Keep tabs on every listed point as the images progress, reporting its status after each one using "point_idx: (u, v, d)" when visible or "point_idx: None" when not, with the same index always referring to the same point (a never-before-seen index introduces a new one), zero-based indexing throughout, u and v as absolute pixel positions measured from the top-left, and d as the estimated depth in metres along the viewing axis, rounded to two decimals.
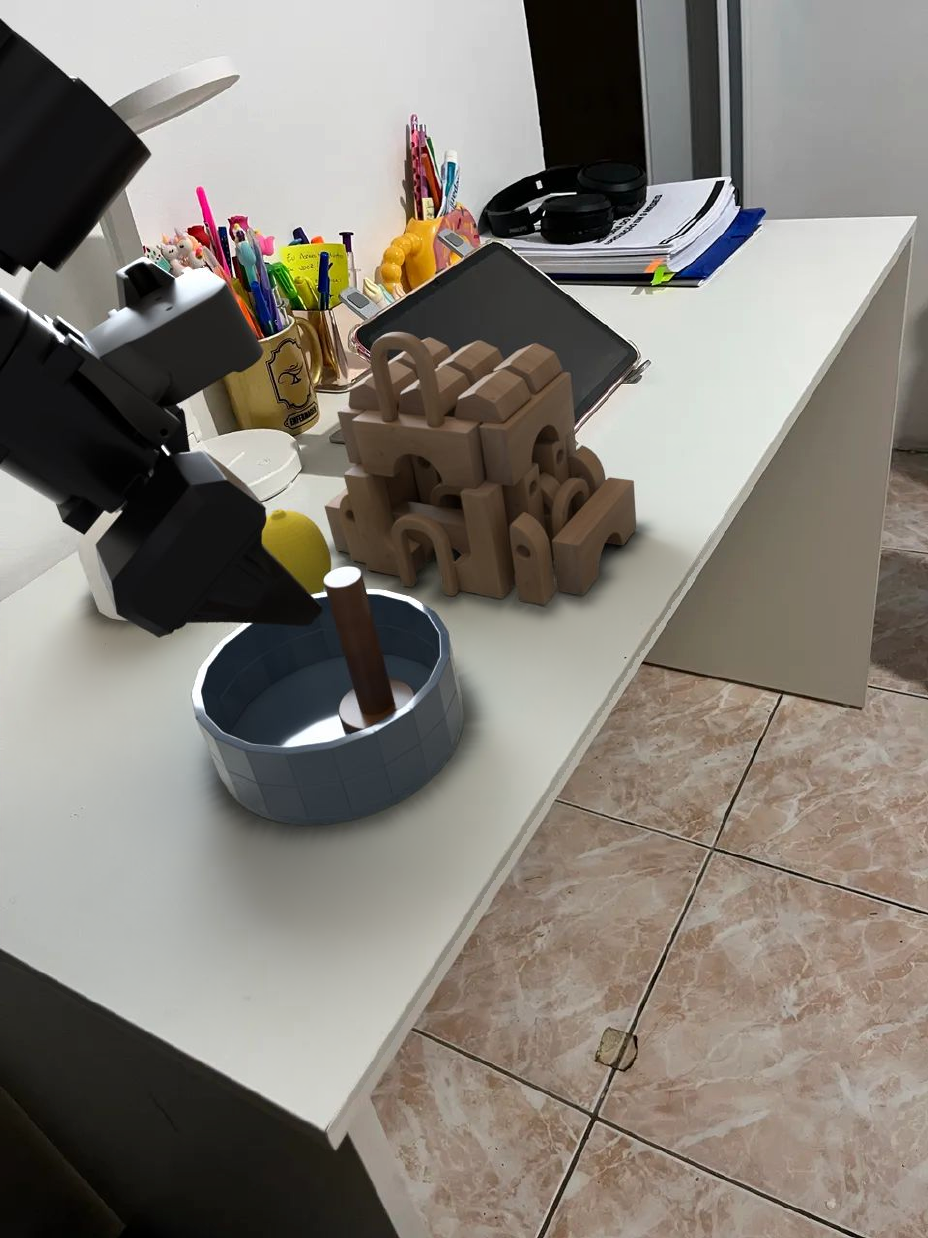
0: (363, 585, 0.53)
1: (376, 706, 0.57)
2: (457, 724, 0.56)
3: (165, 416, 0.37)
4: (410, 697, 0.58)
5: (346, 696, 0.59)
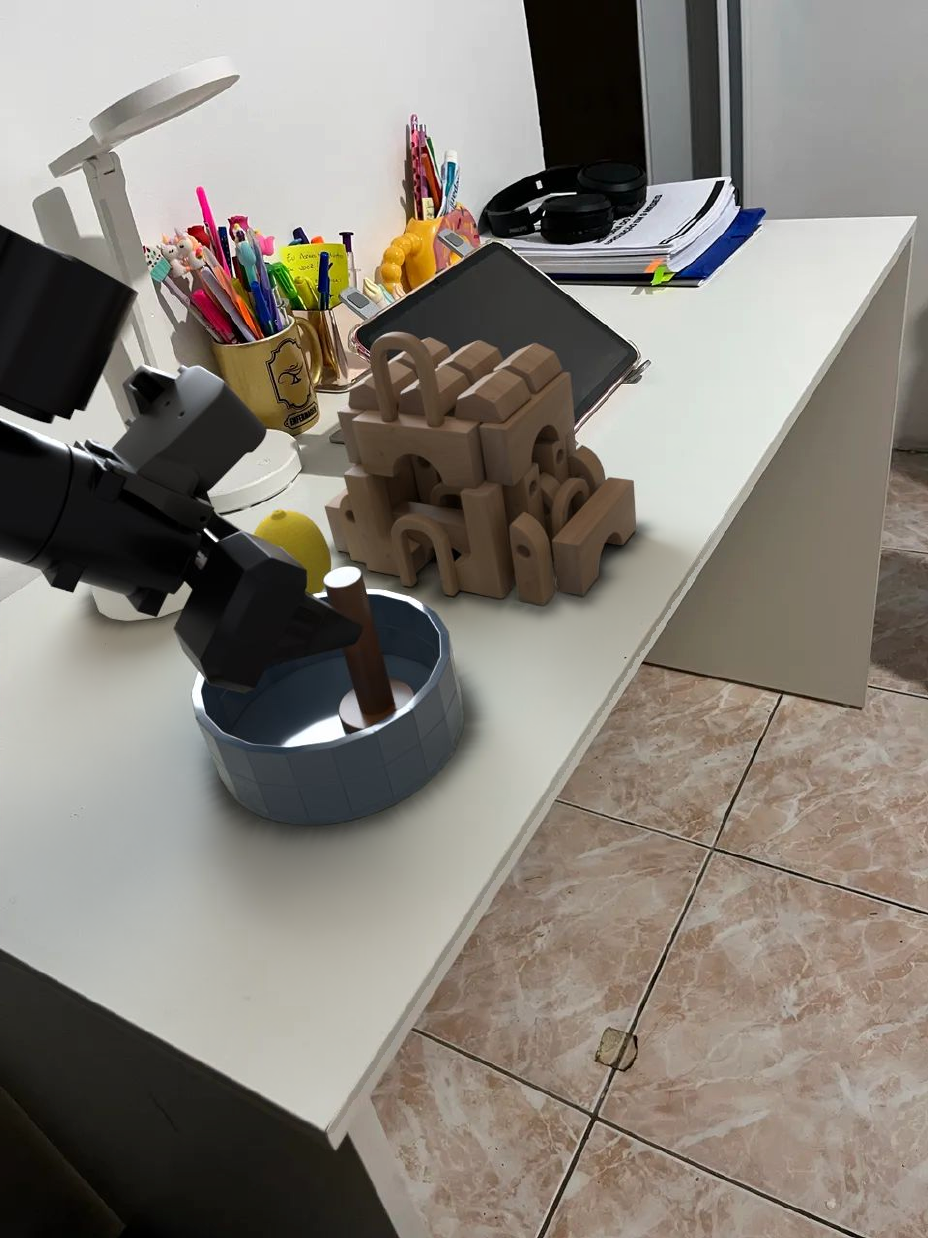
0: (363, 585, 0.53)
1: (376, 706, 0.57)
2: (457, 724, 0.56)
3: (201, 506, 0.43)
4: (410, 697, 0.58)
5: (346, 696, 0.59)
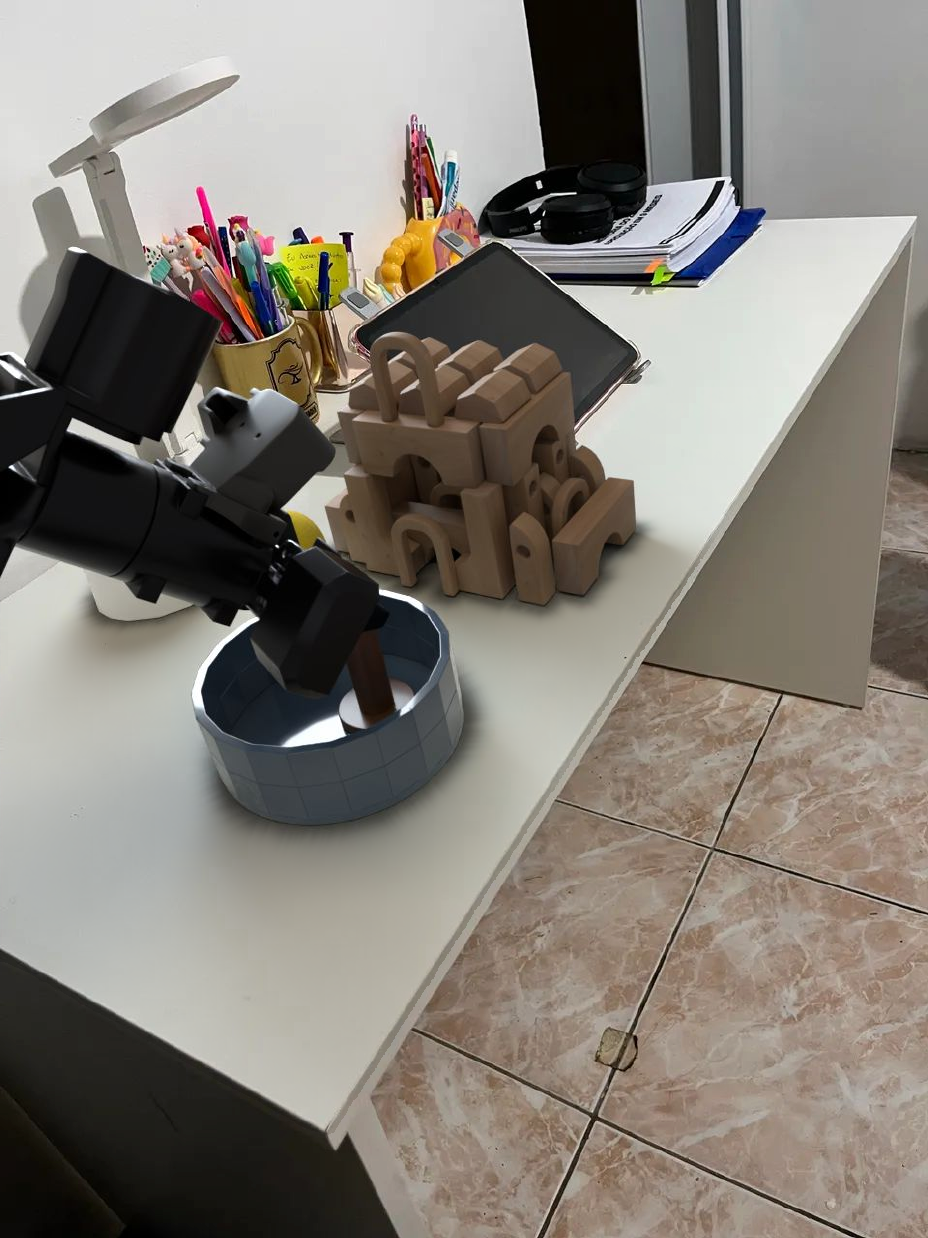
0: None
1: (376, 706, 0.57)
2: (457, 724, 0.56)
3: (275, 522, 0.46)
4: (410, 697, 0.58)
5: (346, 696, 0.59)
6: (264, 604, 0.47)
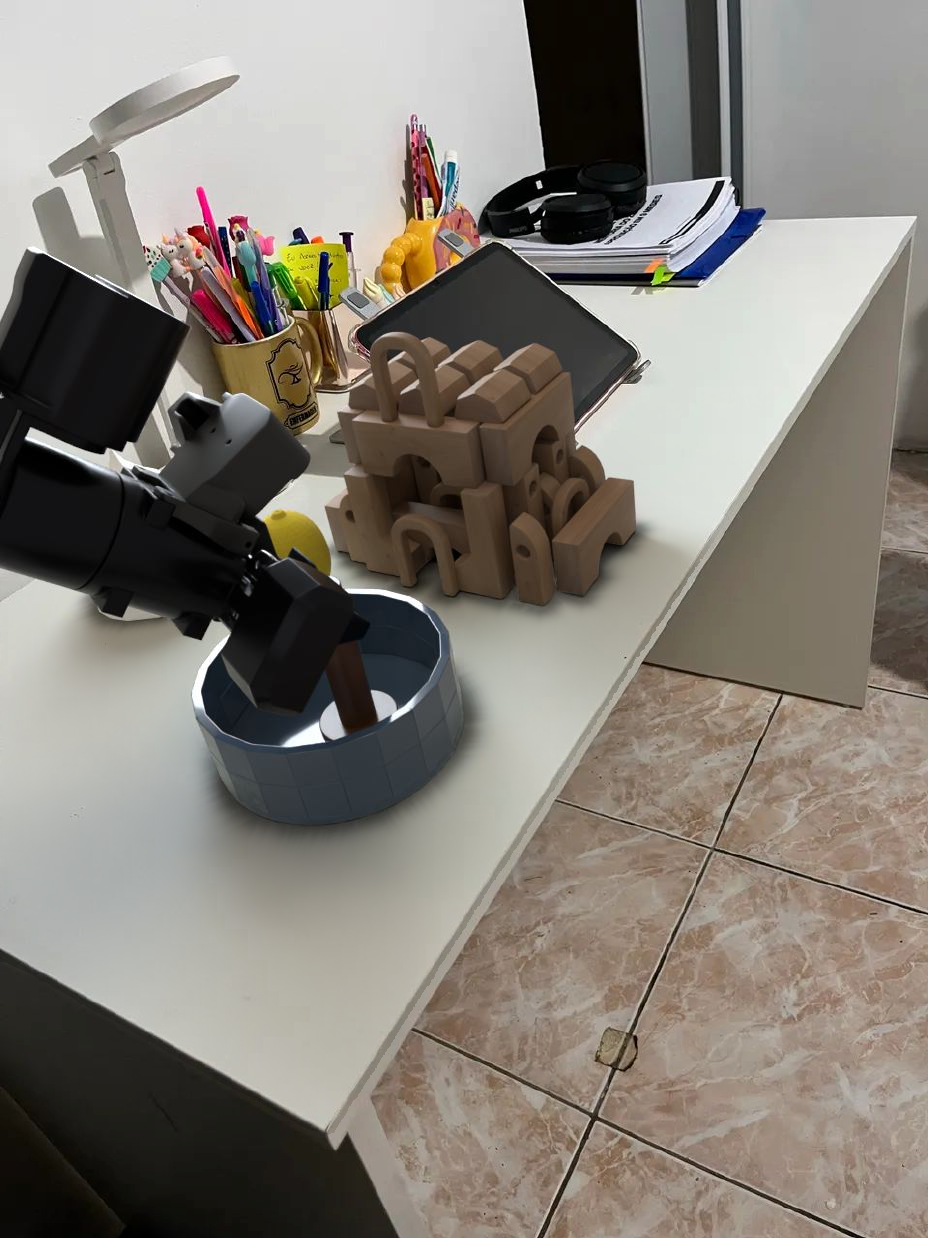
0: None
1: (358, 719, 0.55)
2: (457, 724, 0.56)
3: (247, 532, 0.44)
4: (393, 709, 0.56)
5: (327, 708, 0.58)
6: (237, 617, 0.45)
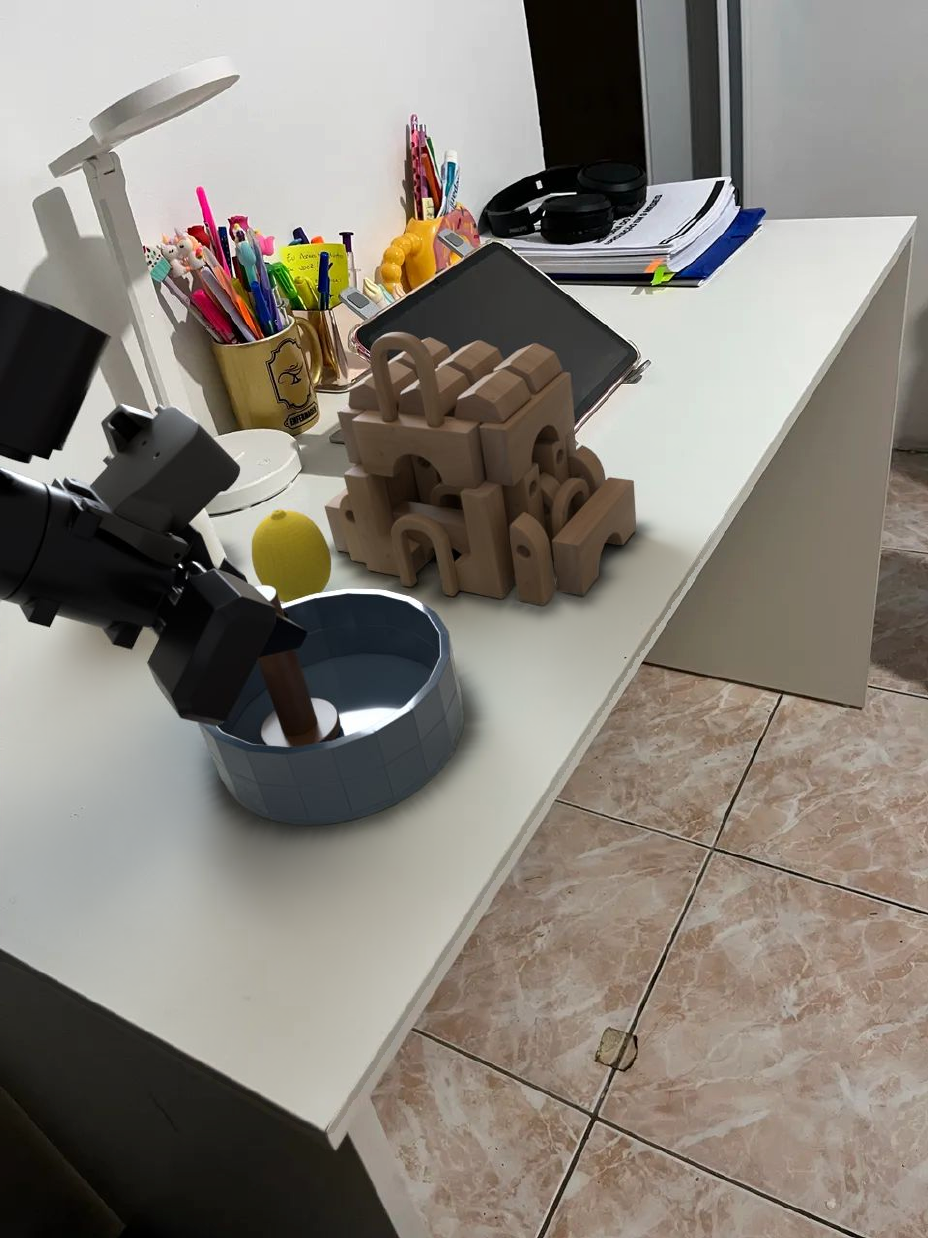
0: (278, 605, 0.52)
1: (297, 727, 0.56)
2: (457, 724, 0.56)
3: (175, 543, 0.45)
4: (333, 717, 0.57)
5: (269, 716, 0.58)
6: None
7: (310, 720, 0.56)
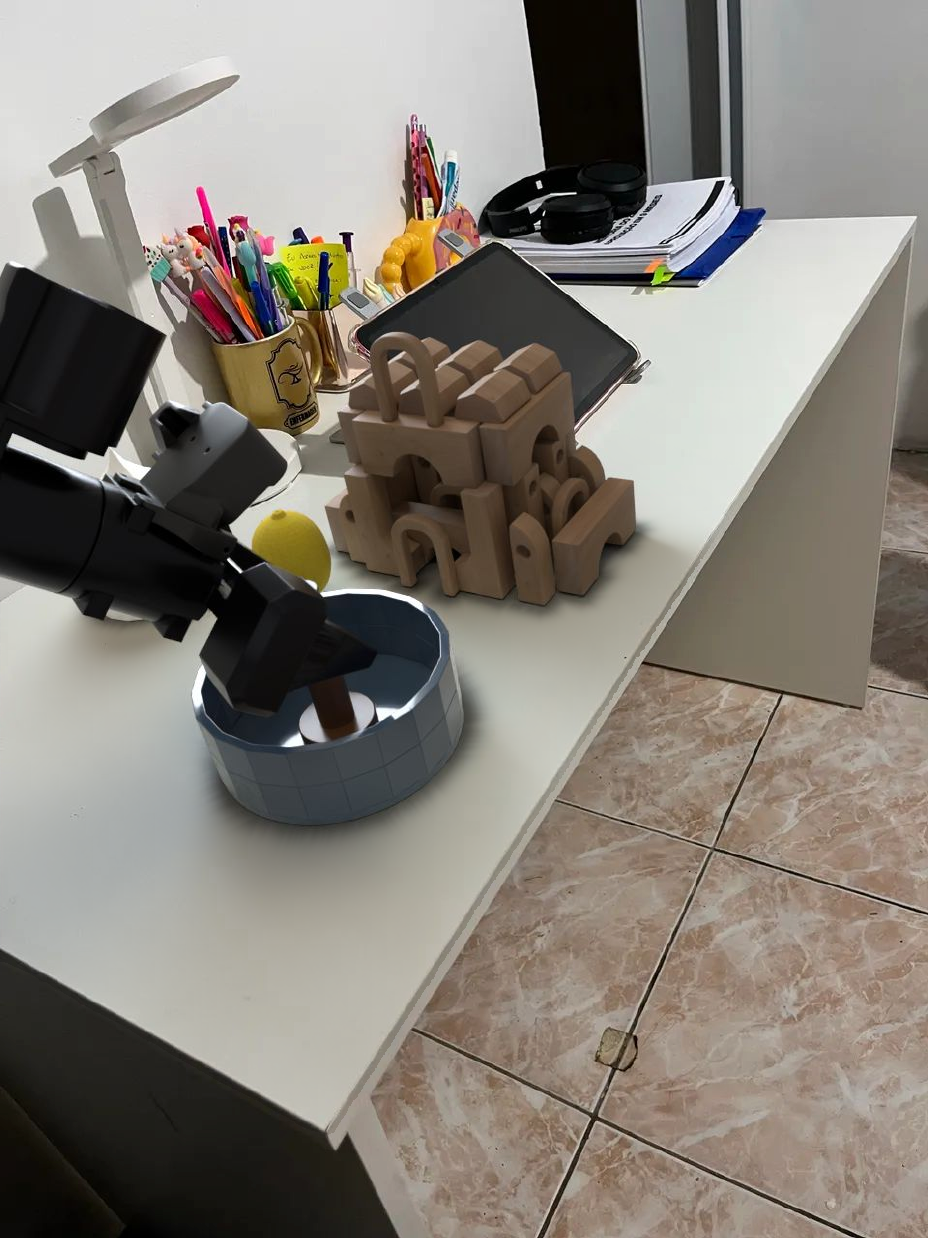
0: None
1: (336, 720, 0.57)
2: (457, 724, 0.56)
3: (225, 537, 0.45)
4: (371, 711, 0.58)
5: (307, 709, 0.59)
6: None
7: (348, 713, 0.57)
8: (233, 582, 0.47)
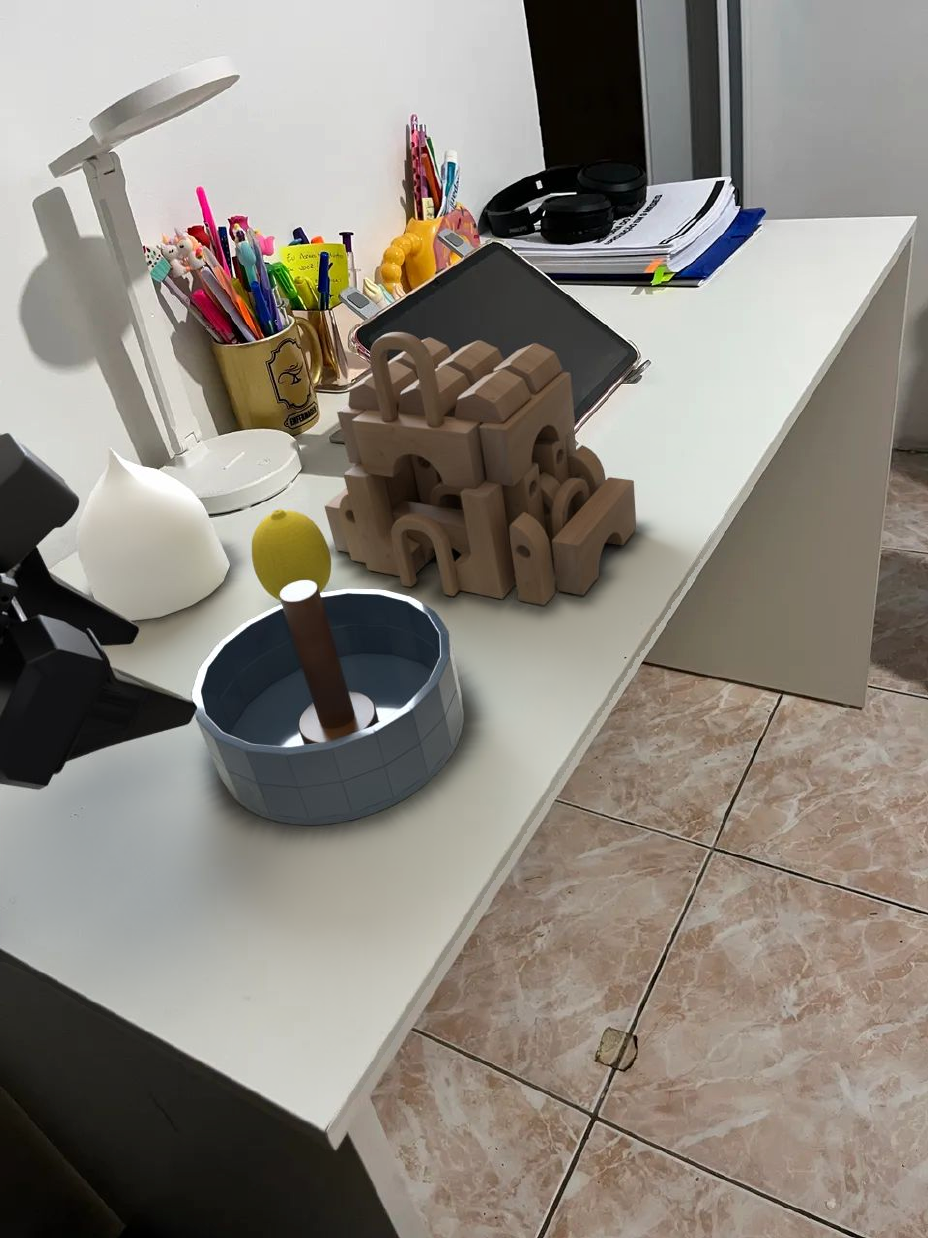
0: (319, 599, 0.53)
1: (336, 720, 0.57)
2: (457, 724, 0.56)
3: (1, 585, 0.41)
4: (371, 711, 0.58)
5: (307, 709, 0.59)
6: None
7: (348, 713, 0.57)
8: None
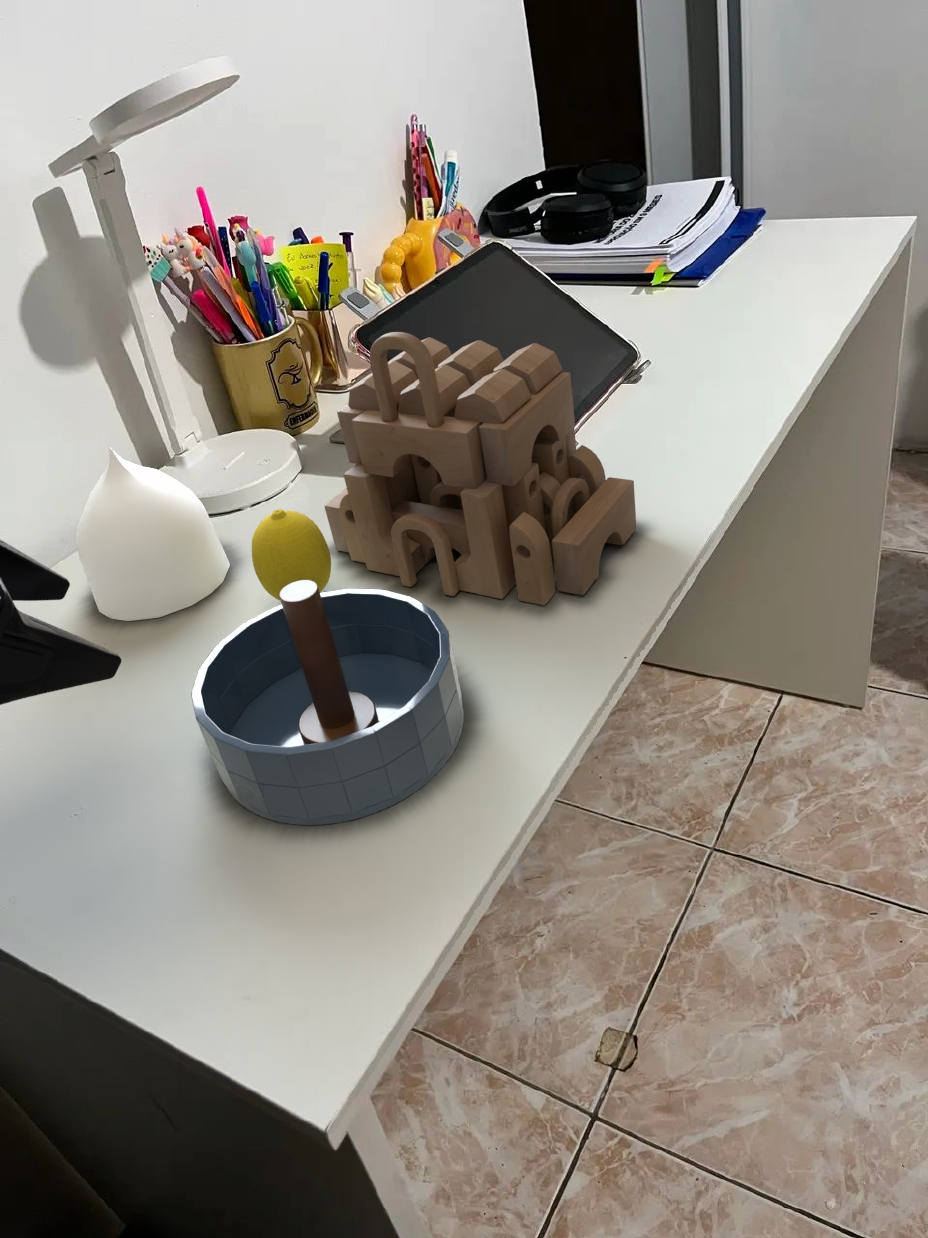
0: (319, 599, 0.53)
1: (336, 720, 0.57)
2: (457, 724, 0.56)
3: None
4: (371, 711, 0.58)
5: (307, 709, 0.59)
6: None
7: (348, 713, 0.57)
8: None
